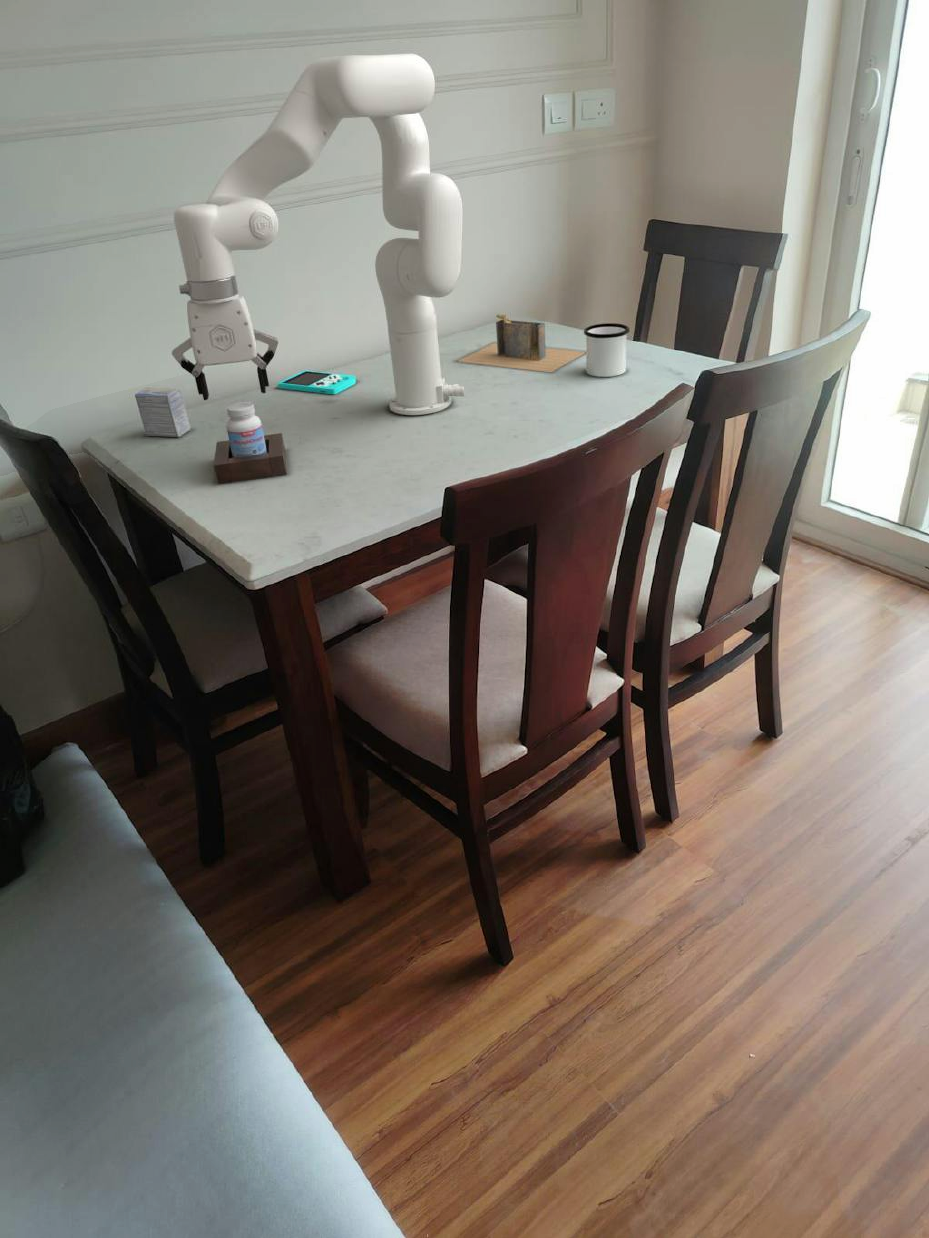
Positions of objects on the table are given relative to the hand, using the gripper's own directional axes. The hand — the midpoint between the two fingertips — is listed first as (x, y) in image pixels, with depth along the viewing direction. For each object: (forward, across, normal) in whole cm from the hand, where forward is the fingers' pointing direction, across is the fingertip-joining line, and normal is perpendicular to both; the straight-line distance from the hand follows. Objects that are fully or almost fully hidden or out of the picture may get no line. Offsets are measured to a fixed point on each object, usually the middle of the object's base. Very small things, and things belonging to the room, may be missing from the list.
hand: (235, 394), depth 150 cm
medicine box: (+14, -17, +26) cm, 33 cm away
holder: (+13, 0, 0) cm, 13 cm away
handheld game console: (+13, +15, +45) cm, 49 cm away
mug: (+12, +76, +28) cm, 82 cm away
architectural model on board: (+12, +61, +46) cm, 78 cm away
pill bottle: (+14, 0, 0) cm, 14 cm away
